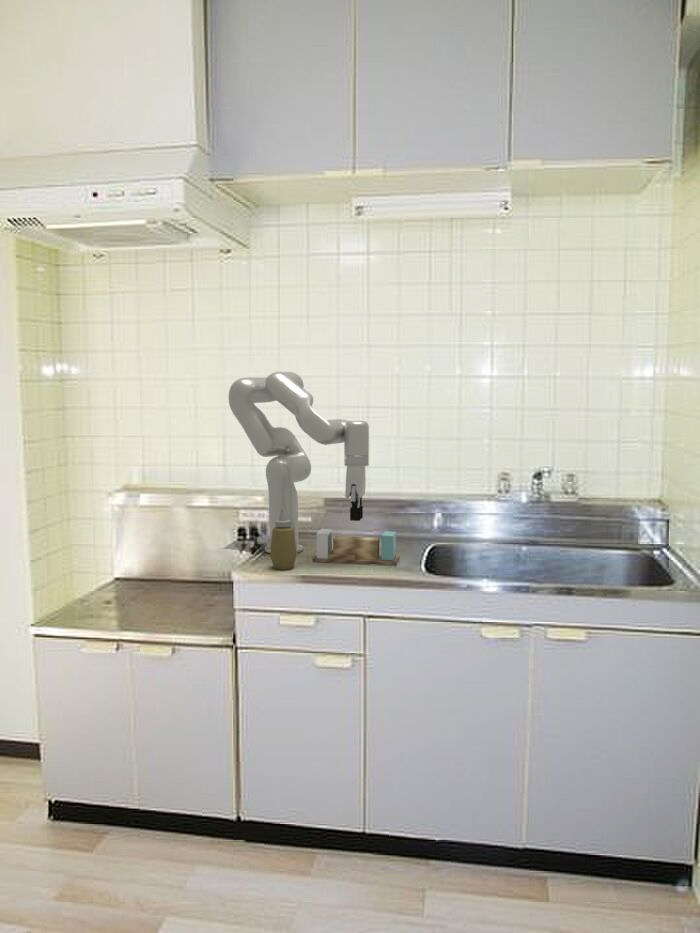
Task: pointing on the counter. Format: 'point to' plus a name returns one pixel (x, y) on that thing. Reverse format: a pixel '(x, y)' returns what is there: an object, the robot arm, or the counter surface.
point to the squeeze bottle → (283, 543)
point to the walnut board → (355, 560)
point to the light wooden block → (356, 547)
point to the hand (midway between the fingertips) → (356, 518)
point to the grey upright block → (324, 543)
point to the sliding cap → (388, 545)
